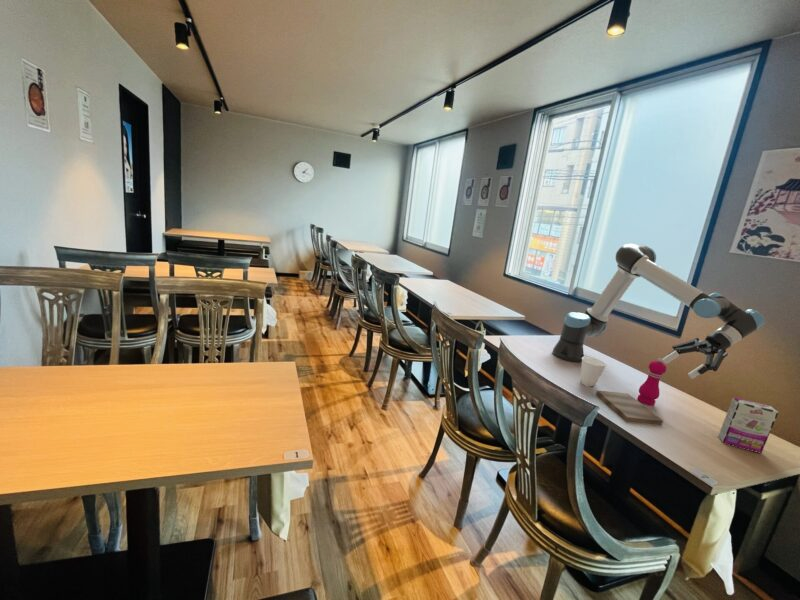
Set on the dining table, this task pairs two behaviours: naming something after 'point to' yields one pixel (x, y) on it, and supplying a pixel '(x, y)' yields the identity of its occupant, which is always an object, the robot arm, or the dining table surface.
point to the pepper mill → (652, 383)
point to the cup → (591, 370)
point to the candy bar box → (747, 424)
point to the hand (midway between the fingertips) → (676, 368)
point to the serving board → (629, 408)
